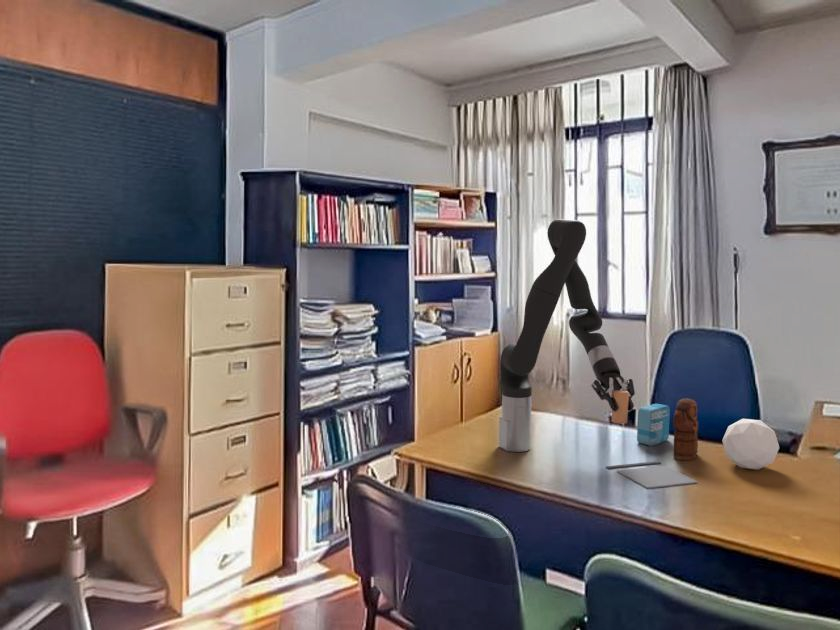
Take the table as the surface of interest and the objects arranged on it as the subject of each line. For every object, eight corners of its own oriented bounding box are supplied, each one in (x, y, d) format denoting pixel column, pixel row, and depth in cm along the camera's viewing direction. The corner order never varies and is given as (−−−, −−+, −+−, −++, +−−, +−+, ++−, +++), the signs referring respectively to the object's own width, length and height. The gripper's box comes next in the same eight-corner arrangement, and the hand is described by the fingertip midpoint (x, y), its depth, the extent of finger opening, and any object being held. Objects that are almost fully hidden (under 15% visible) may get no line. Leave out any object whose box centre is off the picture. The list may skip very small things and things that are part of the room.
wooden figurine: (692, 463, 198) (695, 403, 196) (670, 459, 202) (672, 401, 200) (700, 453, 208) (703, 396, 206) (678, 449, 211) (681, 394, 210)
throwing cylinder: (617, 423, 199) (618, 393, 198) (608, 420, 203) (610, 390, 202) (630, 423, 200) (632, 393, 199) (621, 419, 204) (623, 390, 203)
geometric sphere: (763, 486, 193) (798, 454, 185) (717, 469, 192) (750, 436, 183) (750, 450, 205) (782, 419, 196) (707, 434, 203) (737, 401, 195)
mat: (644, 489, 176) (644, 487, 176) (605, 467, 193) (605, 466, 193) (700, 482, 181) (700, 481, 181) (658, 462, 198) (658, 461, 198)
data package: (648, 446, 214) (650, 410, 213) (636, 443, 218) (637, 407, 217) (668, 440, 222) (670, 405, 221) (656, 437, 225) (658, 402, 224)
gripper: (588, 356, 205) (608, 404, 194) (628, 355, 209) (650, 402, 199) (578, 370, 210) (597, 417, 200) (617, 369, 214) (638, 415, 204)
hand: (623, 409), depth 199 cm, fingers closed on throwing cylinder, 4 cm apart
